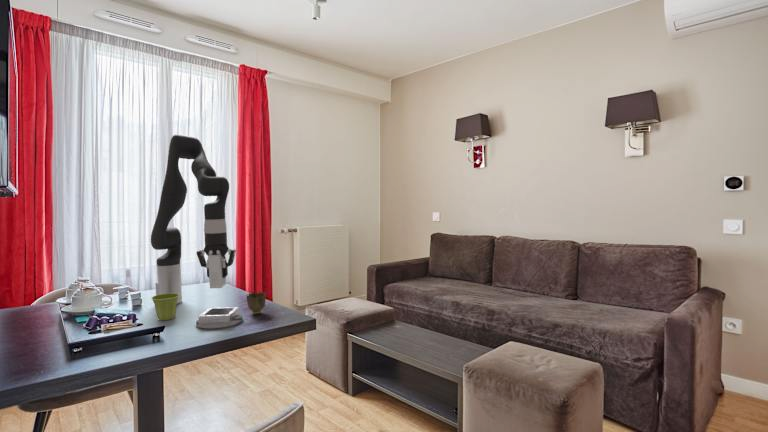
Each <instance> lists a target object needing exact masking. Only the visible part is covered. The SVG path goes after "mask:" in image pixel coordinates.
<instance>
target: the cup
mask: <svg viewBox="0 0 768 432" xmlns="http://www.w3.org/2000/svg"><path fill="white" fill-rule="evenodd" d="M266 295H267V293H266V292H263V291H260V292H258V291H256V292H251V293H250V292H249V293H248V295H247V294H246V295H245V296H246V302H247V307H248V309H249V310H250V311H251V314H252V315H254V316H257V315H261V314H262V312H263V311H262V310H264V308H265V306H266Z"/></svg>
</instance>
